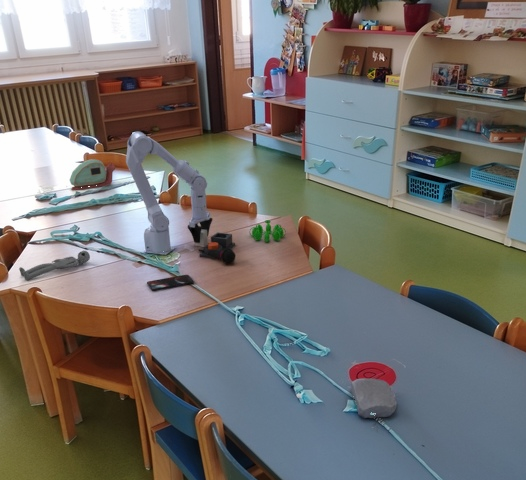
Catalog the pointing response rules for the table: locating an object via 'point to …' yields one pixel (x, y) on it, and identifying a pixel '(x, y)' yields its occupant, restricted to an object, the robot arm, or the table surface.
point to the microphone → (222, 255)
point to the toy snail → (91, 175)
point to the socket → (222, 239)
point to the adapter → (205, 255)
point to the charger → (203, 239)
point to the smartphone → (170, 282)
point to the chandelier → (267, 232)
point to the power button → (213, 245)
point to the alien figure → (55, 265)
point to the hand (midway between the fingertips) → (201, 239)
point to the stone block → (373, 397)
